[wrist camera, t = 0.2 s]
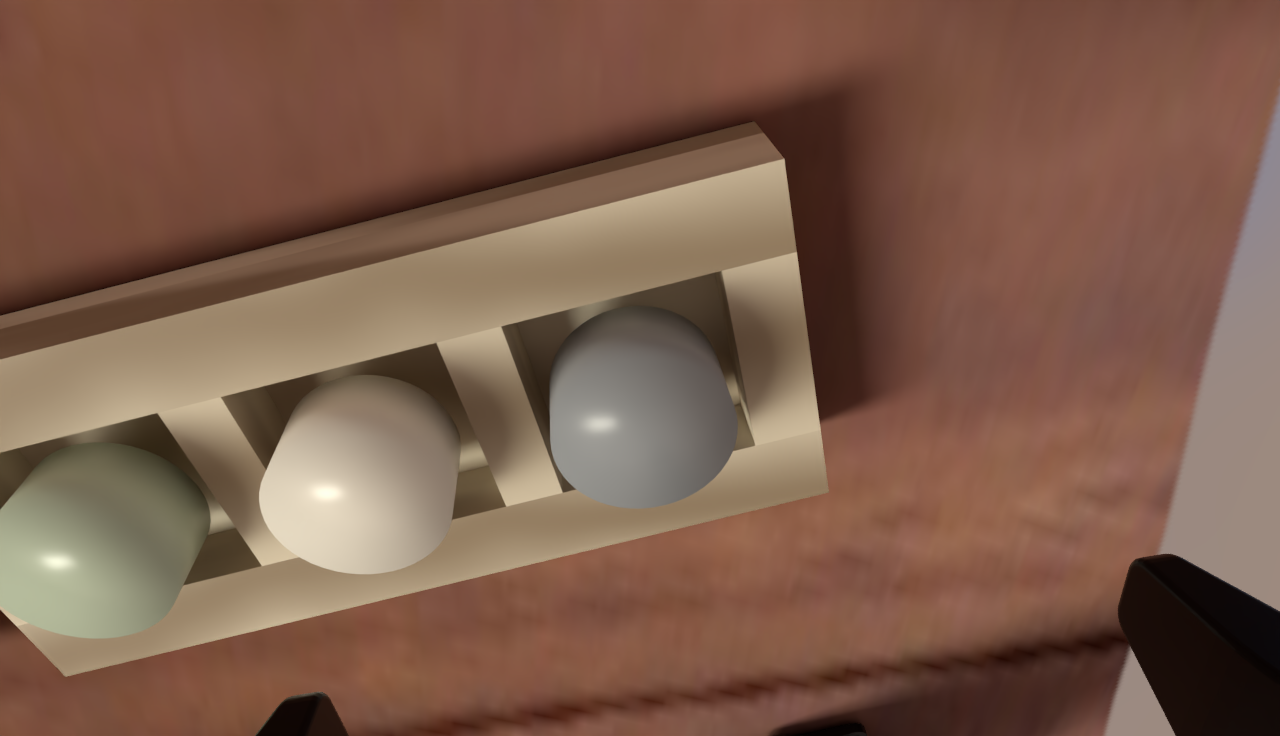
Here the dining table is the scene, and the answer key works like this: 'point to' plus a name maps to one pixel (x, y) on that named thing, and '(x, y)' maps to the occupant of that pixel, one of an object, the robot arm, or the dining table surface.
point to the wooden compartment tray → (427, 369)
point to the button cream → (363, 476)
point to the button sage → (99, 540)
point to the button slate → (639, 408)
